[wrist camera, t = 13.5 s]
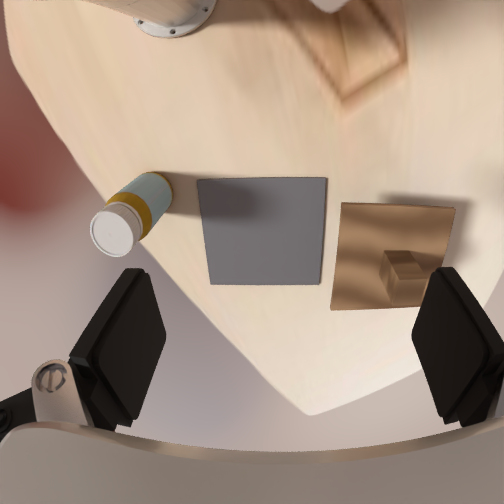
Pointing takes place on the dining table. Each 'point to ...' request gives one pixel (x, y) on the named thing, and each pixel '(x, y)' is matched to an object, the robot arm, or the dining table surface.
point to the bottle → (131, 214)
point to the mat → (263, 229)
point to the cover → (388, 254)
